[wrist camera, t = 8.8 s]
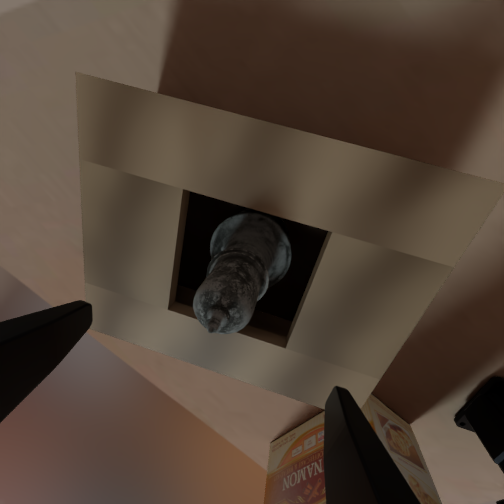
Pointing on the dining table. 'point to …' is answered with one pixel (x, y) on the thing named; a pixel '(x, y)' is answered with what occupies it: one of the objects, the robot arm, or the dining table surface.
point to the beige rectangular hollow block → (275, 203)
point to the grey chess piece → (241, 269)
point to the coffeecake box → (312, 466)
